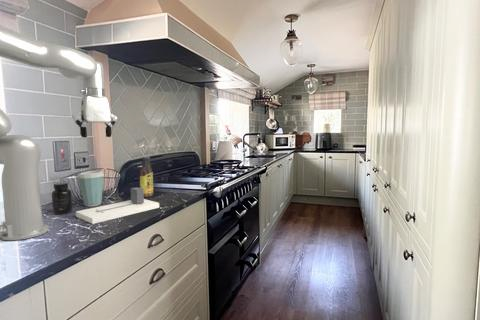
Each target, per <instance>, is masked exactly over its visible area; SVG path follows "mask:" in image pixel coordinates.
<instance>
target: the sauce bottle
mask: <svg viewBox="0 0 480 320" xmlns="http://www.w3.org/2000/svg"><path fill="white" fill-rule="evenodd" d="M141 162H142V163H141V164H142V165H141V168H140V170H139V188H142V189H143V192H144V198H149V197H152V196H153V195H154V172H153V169H152V167H151V157H150V156H141Z"/></svg>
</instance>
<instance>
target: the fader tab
mask: <svg viewBox="0 0 480 320" xmlns="http://www.w3.org/2000/svg"><path fill="white" fill-rule="evenodd" d="M144 199H145V197H144V192H143V189H142V188H140V187H137V186H136V187H131V188H130V200H131V202H132V203H136V204H140V203H144Z"/></svg>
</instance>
